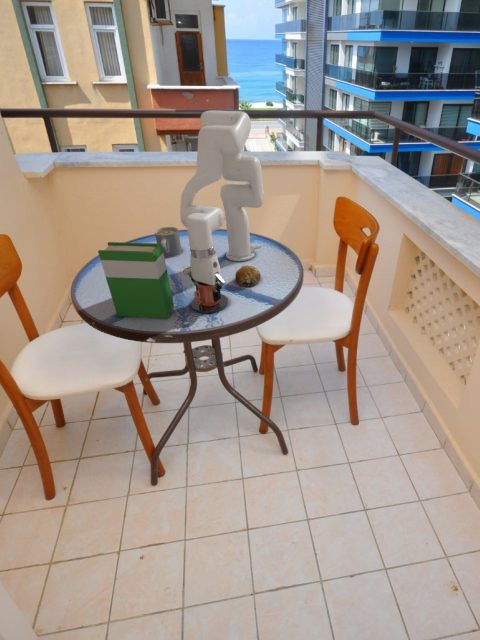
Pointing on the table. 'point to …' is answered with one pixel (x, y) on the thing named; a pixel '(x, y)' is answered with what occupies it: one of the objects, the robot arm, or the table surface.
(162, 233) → the coffee mug
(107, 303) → the table surface
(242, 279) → the bread roll
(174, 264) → the table surface
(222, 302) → the saucer
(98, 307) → the table surface
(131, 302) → the hardback book
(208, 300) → the wooden mug
